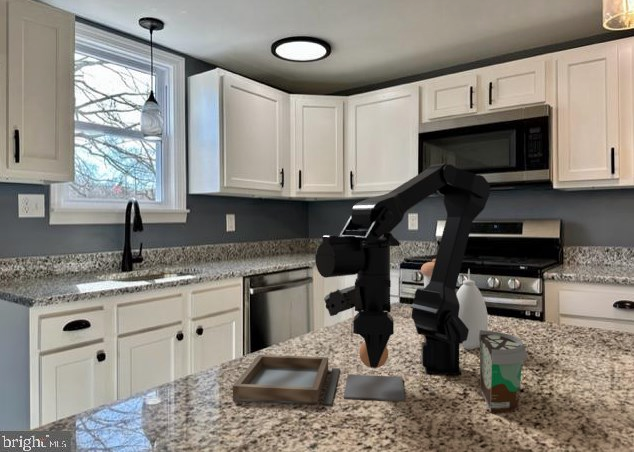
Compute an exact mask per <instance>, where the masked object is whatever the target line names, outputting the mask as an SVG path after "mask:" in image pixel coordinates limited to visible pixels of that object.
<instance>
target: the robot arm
mask: <svg viewBox="0 0 634 452" xmlns="http://www.w3.org/2000/svg"><path fill="white" fill-rule="evenodd" d="M434 193H437V194H439V195H440V196H442V197H443V201H442V202H443V207H444V208H445V212H446V219H445V224H444V226H443V231H442V234H441V238H440V241H439V242H440V243H439V246H438V250H437V253H436V256H435V259H436V260H435V264H434V268H433V272H432V276H431V279H430V282H429V284H428V285H427V286H426V287H425V288H424V287H423V289H422V288H419V287H418V288H417V289H416V290H415V292H414V299H413V301H412V304H411V306H410V308H411V309H412V310H411V318H412V320H413V323H414V326H415V329H416V333H417V335H420V336H421V335H424V337H423V338H424V339H423V340H424V341H423V342H421V365H422V367H423V368H424V370H425V373H426V374H440V375H445V374H446V375H462V370H461V368H460V344H461V343H463V341H466V340H467V337H468V332H469V329H468V328H467V327H466V325H465V324H464V323H463V322H462V320H461V319H460V318H459V317H458V316H459V308H460V305H459V301H458V298H457V295H456V294H457V292H456V291H457V290H456V288H457V283H458V279H459V275H460V272H461V270H462V269H461V268H462V266H463V264H462V263H463V260H464V255H465V253H466V248H467V244H468V240H469V236H470V233H471V229H472V226H473V221H474V220H475V219H476V218H477V217H478V216H479V215H480V214H481V213H482V212H483V211H484V209H485V207H486V205H487V202H488V200H489V197H490V193H491V185H490V183H489V182H488V180H487V179H486V177H485V176H483V175H481V174H476V173H474V172H472V171H468V170H464V169H461V168H457V167H456V166H454V165H453V164H449V163H439V164H432V165H429V166H428V167H427V168H425V169H424V170H423V171H422V172H420V173H419V174H417V175H416V176H414V177H412V178H410V179H409V180H407V181H405V182H404V183H403V184H401V185H399V186H398V187H395V188H394V189H393V190H390V192H387V193H384V194H381V195H377V196H373V197H370V198H367V199H364V200H361V201H357V203H356V204H354V205H353V207H352V208H351V210H352V211H351V215H350V217H349V218H348V220H347V222H346V223H345V225H344V227H343V229H342V230H341V232H340V234H339V235H330V234H328V235H327V234H326V235H323V236H322V243H321V244H320V245H318V248H317V251H316V254H315V266H316V270H317V271H318V273H319V275H320V276H321V277H322V278H324V279H325V278H335V277H345V276H354V275H355V276H356V278H355V281H354V285H352V286H349V287H345V288H342V289H339V288H337V289H336V290H334V291H330V292H329V294H327V295H325V297H324V298H323V300H324V303H325V309H327V311H328V314H329V316H330V317H334V316H337V315H338V314H339V313H342V312H345V311H348V310H350V309H353V308H354V311H355V312H357V313H356V314H355V315H354V317H353V321H352V322H353V325H352V326H353V329H352V330H353V332H352V334H355V335H359V336H360V337H362V338H363V339H364V342H365V344H366V348H367V353H368V358H369V362H370V366H371V367H374V368H373V369H377V368H376V367H377V366H378V364H379V361H380V359H381V357H382V354H383V352H384V349H385V347H387V345H388V342H389V340H390V338H391V336H393V335H394V333H395V330H394V329H395V323H394V317H393V316H392V315H391V314H390V313H391V312H392V311H391V308H392V306H391V305H392V304H391V287H392V284H391V282H392V281H391V247H399V246H400V244H401V242H400V241H399V240H397V238H396V237H394V235H393V233H392V232H393V231H394V229H395V228H396V227H397V226H399V224H400V223H402V221H403V220H404V216H405V214H406V213H407V212H408V211H409V210H411V209H412V208H414V207H415V206H417V205H418V204H420V203H421V202H423V201H424V200H426V199H427V198H428V197H430V196H432V195H433V194H434Z"/></svg>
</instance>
